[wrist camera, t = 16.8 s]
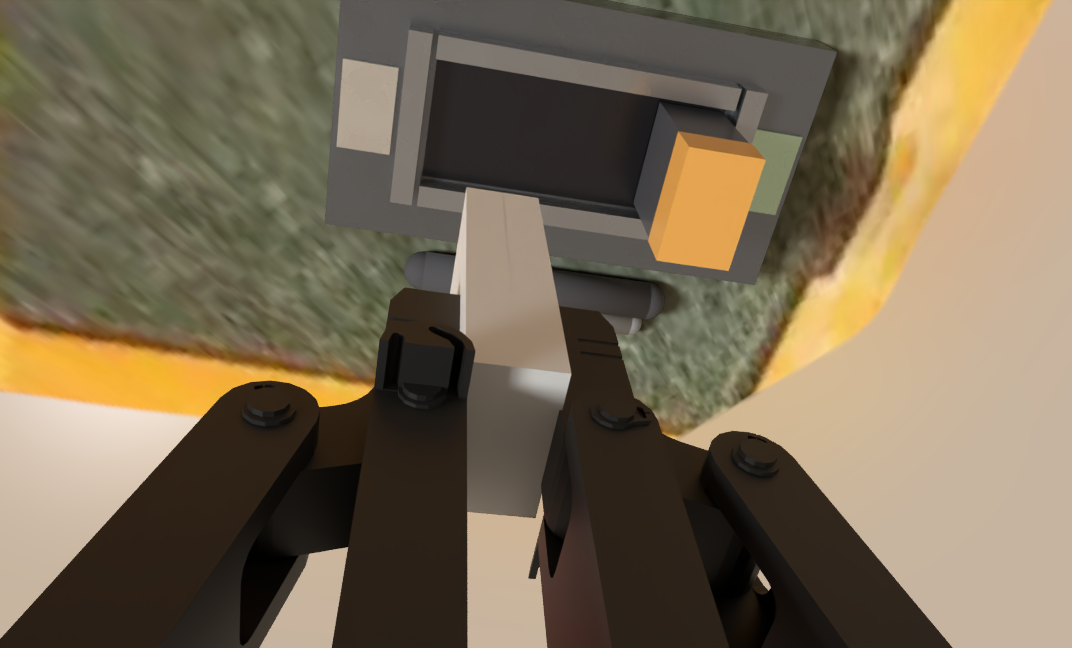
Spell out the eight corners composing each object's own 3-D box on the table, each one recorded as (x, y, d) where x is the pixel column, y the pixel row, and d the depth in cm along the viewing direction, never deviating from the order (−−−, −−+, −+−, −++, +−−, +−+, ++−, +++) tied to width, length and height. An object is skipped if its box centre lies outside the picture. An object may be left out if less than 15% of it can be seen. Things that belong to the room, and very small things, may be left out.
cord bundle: (400, 297, 46) (398, 315, 44) (407, 242, 44) (405, 259, 42) (649, 330, 48) (656, 348, 46) (664, 278, 46) (671, 296, 45)
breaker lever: (631, 202, 41) (656, 260, 36) (657, 101, 39) (689, 147, 33) (694, 212, 42) (728, 271, 36) (723, 112, 39) (765, 159, 34)
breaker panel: (331, 204, 43) (321, 234, 40) (350, -49, 37) (339, -38, 34) (741, 264, 46) (761, 295, 43) (818, 40, 40) (847, 58, 37)
